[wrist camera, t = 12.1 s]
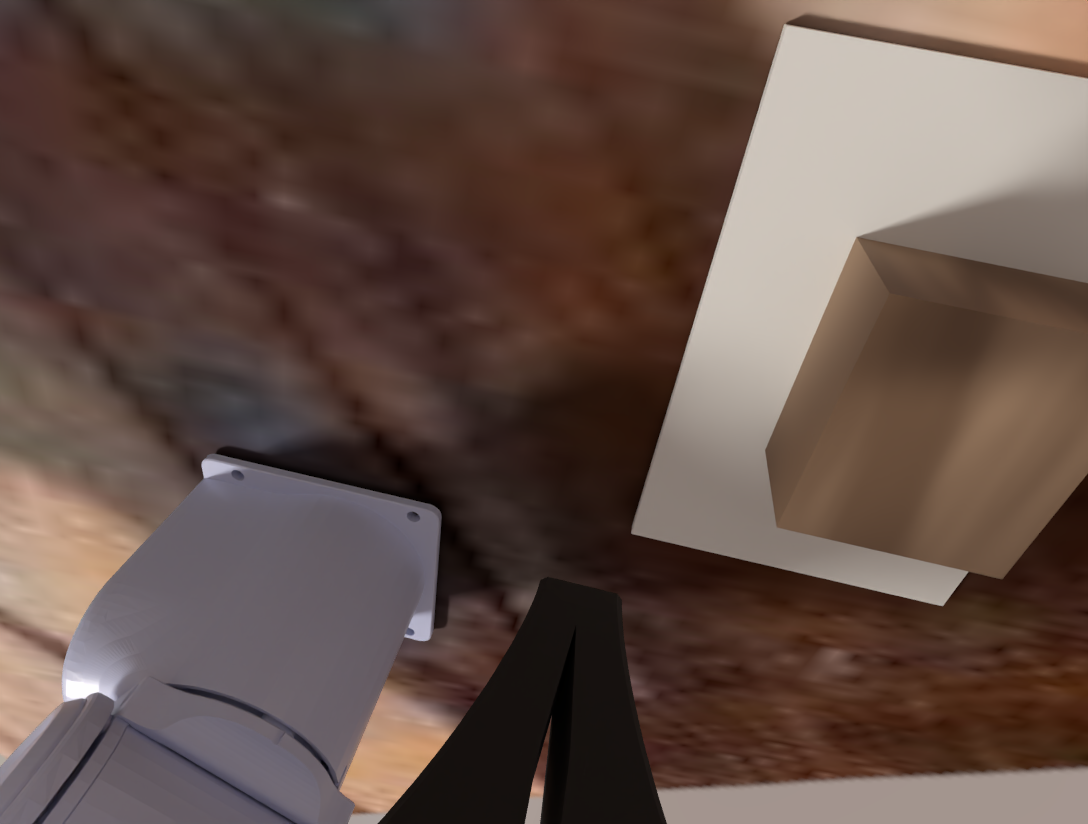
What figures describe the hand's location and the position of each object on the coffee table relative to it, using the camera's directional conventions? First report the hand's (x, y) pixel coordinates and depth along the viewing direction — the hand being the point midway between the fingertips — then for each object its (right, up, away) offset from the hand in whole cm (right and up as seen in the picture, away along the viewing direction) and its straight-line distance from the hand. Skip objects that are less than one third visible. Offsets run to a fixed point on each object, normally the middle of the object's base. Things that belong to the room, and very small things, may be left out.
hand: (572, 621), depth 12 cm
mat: (+9, +5, +8) cm, 13 cm away
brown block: (+7, +4, +6) cm, 10 cm away
